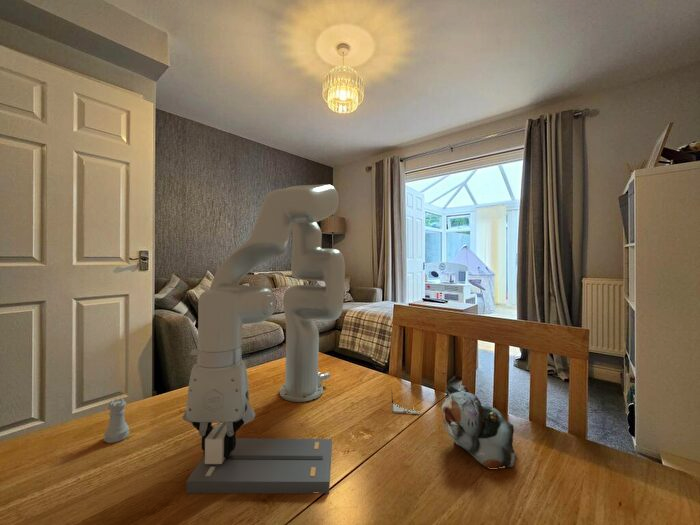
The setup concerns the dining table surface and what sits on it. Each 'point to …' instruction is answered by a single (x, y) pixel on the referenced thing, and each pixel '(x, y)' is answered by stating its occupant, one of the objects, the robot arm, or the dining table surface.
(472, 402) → the lucky cat figurine
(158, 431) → the dining table surface
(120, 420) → the rook chess piece
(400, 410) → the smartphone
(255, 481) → the grey slotted panel
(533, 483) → the dining table surface
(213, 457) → the fader
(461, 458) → the dining table surface
